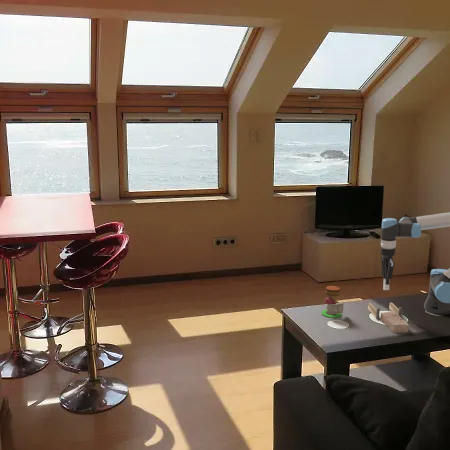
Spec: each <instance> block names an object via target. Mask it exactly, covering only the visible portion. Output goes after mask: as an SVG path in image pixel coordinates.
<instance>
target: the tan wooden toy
mask: <svg viewBox="0 0 450 450" xmlns="http://www.w3.org/2000/svg"><path fill="white" fill-rule="evenodd" d="M388 309H389V312H396V313H397V314H398V315H399V316H400V317H401V318H402V314H403V307H401V306H399V307H397V306H396V305H395V304H394V303H393V302H389V307H388ZM380 310H381V309H380V307H375V306H374V305H373V304H372V303H371V302H368V303H367V311H368V312H369V313H370V312H371V313H370V314H371V315H372V316H373V317H374V318H375V320H380V314H381V311H380Z"/></svg>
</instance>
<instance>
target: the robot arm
mask: <svg viewBox="0 0 450 450" xmlns="http://www.w3.org/2000/svg"><path fill="white" fill-rule="evenodd" d="M447 227H448V228H449V227H450V211H449V212H442V213H435V214H428V215H420V216H412V217H408V216H403V217H402V218H401V219H399V221H398V220H397V219H396V218H393V217H386V218H383V219H382V221H381V234H380V236H381V238H380V242H379V243H380V255H381V257H380V261H381V275H382V277H383V284H382V285H383V288H382V290H383V291H390V283H391V282H390V279H393V275H394V267H395V264H396V263H395V262H393V259H394V258H393V256H396V249H397V248H396V247H397V238H411V239H412V238H420V237H421V236H422V235H421V234H422V231H424V230H433V229H440V228H447ZM429 275H430V277H429V286H428V288H429V289H428V296H427V298H426V300H425V301H424V304H423V308H424V310H425V309H426V310H425V311H427V312H430V313H432V314H435V313H437V314H436V315H443V314H446V315H450V267H449V268H448V269H443V268H433V269H431V271H430V274H429Z"/></svg>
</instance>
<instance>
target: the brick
mask: <svg viewBox="0 0 450 450" xmlns="http://www.w3.org/2000/svg"><path fill="white" fill-rule="evenodd" d="M380 321H381V322H382V323H383V324H384V325H385V326H386V327H387V328H388V329H389V330H390V331H391V332H392V333H394V334H395V333H396V334H397V333H408V332H409V323H407V322H406V321H405V320H404V319H403V318H402V316H401V317H400V316H399V315H398V314H397V313H396V312H391V311H386V312H380Z"/></svg>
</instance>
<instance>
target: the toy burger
mask: <svg viewBox="0 0 450 450" xmlns="http://www.w3.org/2000/svg"><path fill="white" fill-rule="evenodd" d="M340 292H341V288H340V287H339V286H336V285H327V286H326V287H325V295H326V296H327V297H325V299H324V300H323V302H324V303H325V304H326V305H327V306H326V309H323V310H322V311H321V315H322V316H324V317H326V318H331V319H332V318H333V319H335V318H341V316H342V313H344V304H345V303H344V302H345V301H344V302H342V303H339V304H337V302H336V300H335V299H334V298H333V297H338V296H340V294H341V293H340Z"/></svg>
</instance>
